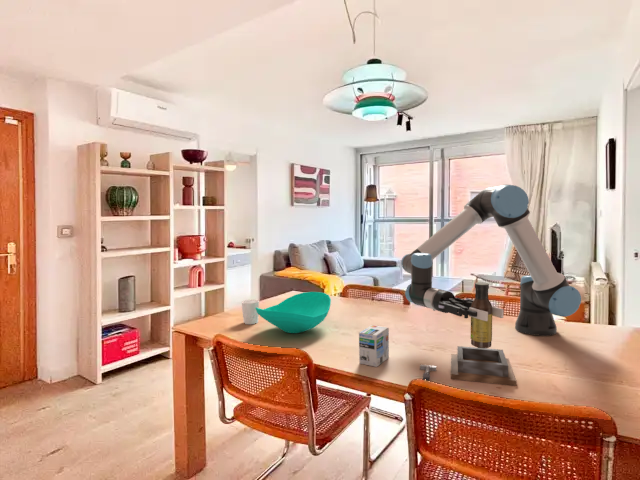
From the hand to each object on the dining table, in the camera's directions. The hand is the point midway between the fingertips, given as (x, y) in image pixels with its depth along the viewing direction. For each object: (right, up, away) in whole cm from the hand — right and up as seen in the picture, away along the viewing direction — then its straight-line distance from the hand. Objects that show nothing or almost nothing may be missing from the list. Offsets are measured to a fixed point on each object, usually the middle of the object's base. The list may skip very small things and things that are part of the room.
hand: (494, 315), depth 122 cm
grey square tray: (-2, -19, +6) cm, 20 cm away
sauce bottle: (-2, -11, +5) cm, 12 cm away
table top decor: (-63, -17, +53) cm, 84 cm away
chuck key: (-19, -19, +4) cm, 27 cm away
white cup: (-85, -16, +67) cm, 109 cm away
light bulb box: (-34, -19, +17) cm, 42 cm away
